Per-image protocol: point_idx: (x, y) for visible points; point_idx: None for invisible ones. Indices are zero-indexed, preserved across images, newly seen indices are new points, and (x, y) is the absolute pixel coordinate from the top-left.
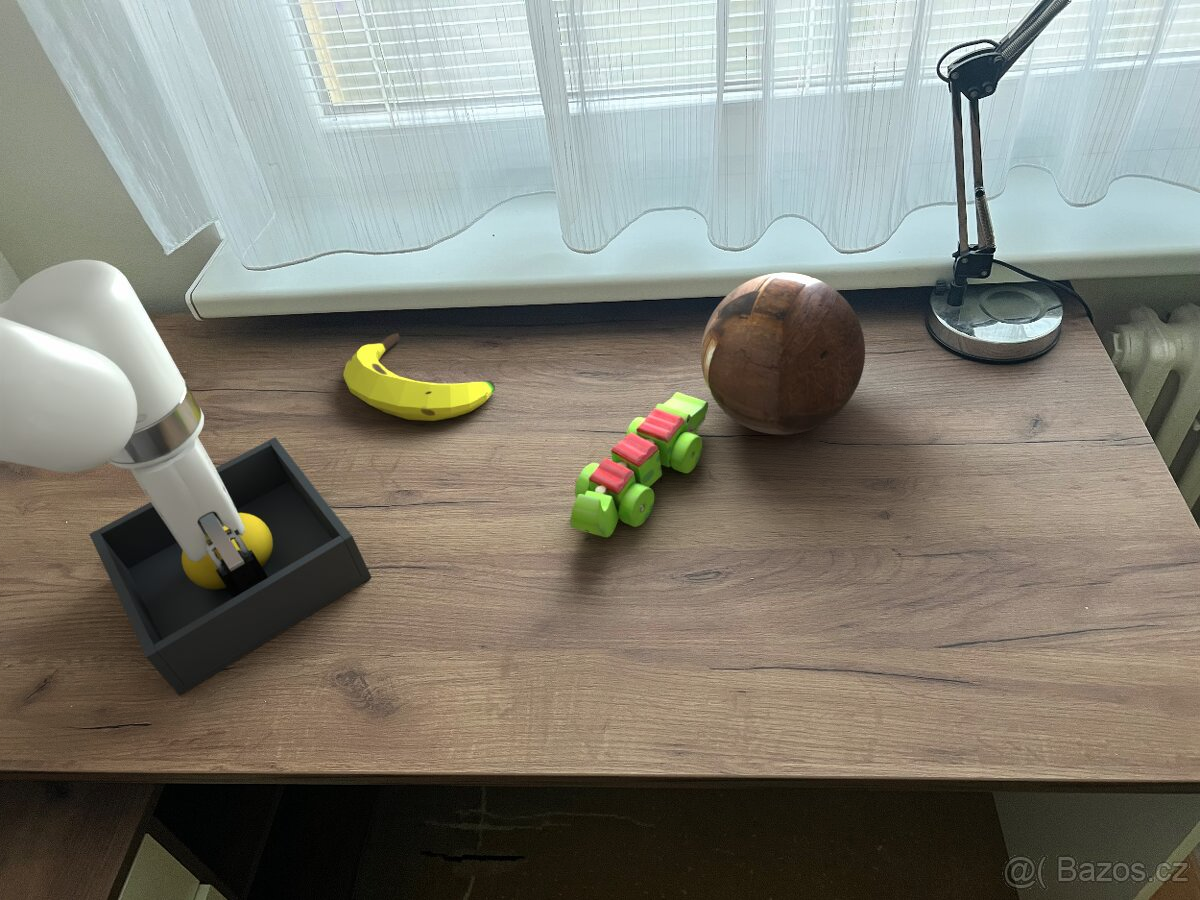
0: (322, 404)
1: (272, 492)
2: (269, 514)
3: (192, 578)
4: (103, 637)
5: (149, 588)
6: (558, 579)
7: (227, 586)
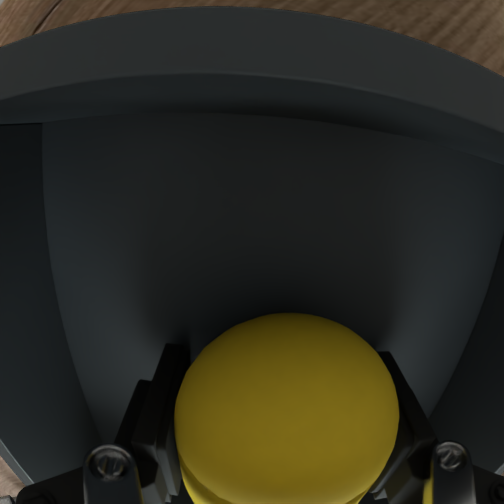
0: None
1: None
2: None
3: (245, 350)
4: (377, 10)
5: (431, 173)
6: None
7: (149, 388)
